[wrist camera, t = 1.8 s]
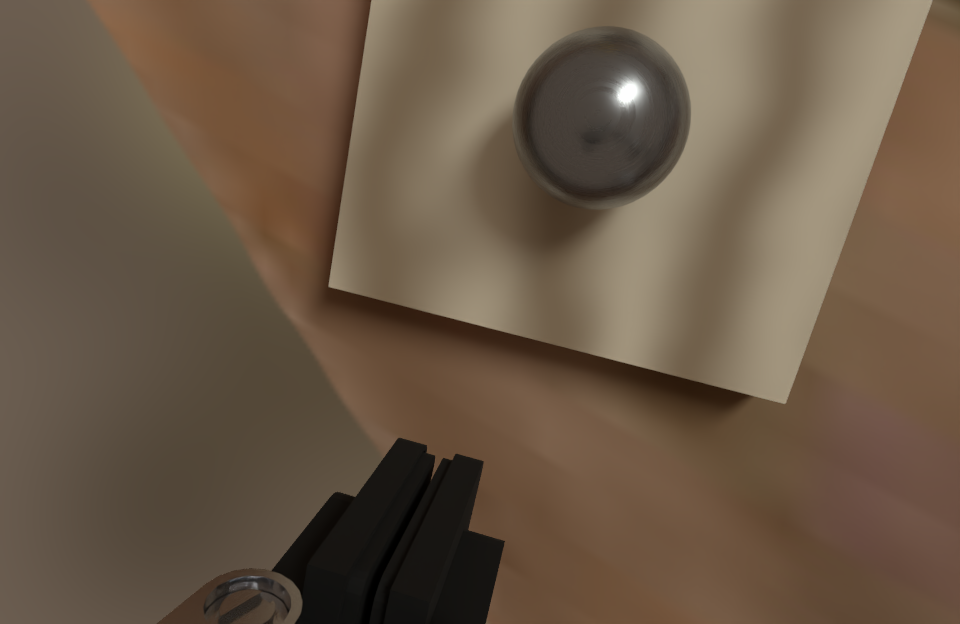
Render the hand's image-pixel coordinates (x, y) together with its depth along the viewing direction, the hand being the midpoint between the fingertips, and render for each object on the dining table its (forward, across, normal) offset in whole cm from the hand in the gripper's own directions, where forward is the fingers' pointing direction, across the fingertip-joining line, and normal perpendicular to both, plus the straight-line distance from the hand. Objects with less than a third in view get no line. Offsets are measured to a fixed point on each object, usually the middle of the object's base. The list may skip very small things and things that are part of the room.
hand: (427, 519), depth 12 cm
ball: (+12, -1, -8) cm, 15 cm away
